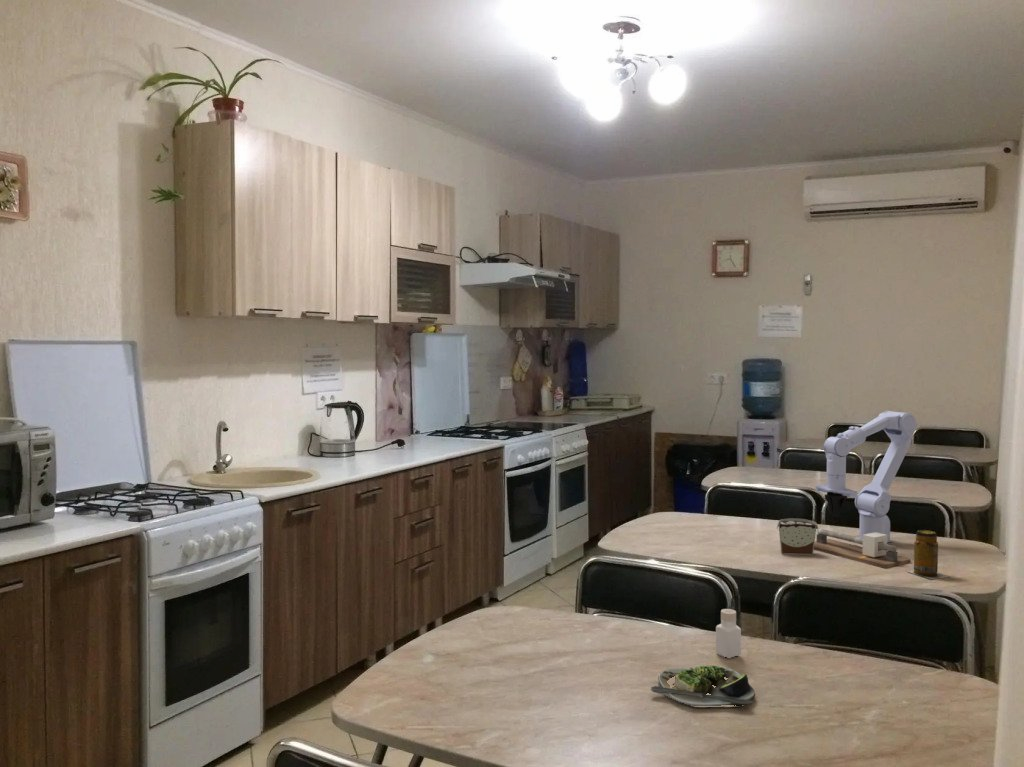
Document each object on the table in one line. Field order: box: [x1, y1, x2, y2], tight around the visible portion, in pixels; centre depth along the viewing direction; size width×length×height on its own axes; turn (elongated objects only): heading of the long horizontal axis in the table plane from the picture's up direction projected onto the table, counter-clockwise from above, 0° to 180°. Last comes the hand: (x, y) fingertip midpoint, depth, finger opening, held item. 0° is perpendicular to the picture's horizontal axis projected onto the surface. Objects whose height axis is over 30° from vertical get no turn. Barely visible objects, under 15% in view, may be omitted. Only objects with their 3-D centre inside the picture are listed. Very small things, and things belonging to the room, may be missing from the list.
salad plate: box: [650, 664, 756, 707], centre depth 156 cm, size 19×18×5 cm
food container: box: [776, 518, 819, 556], centre depth 257 cm, size 12×6×10 cm, turn 83°
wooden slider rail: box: [813, 527, 911, 569], centre depth 254 cm, size 12×29×6 cm, turn 30°
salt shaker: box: [715, 608, 742, 659], centre depth 174 cm, size 4×4×10 cm
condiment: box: [906, 529, 950, 580], centre depth 232 cm, size 7×8×12 cm
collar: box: [862, 532, 888, 557], centre depth 248 cm, size 6×4×6 cm, turn 120°
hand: (835, 516), depth 264 cm, fingers closed
